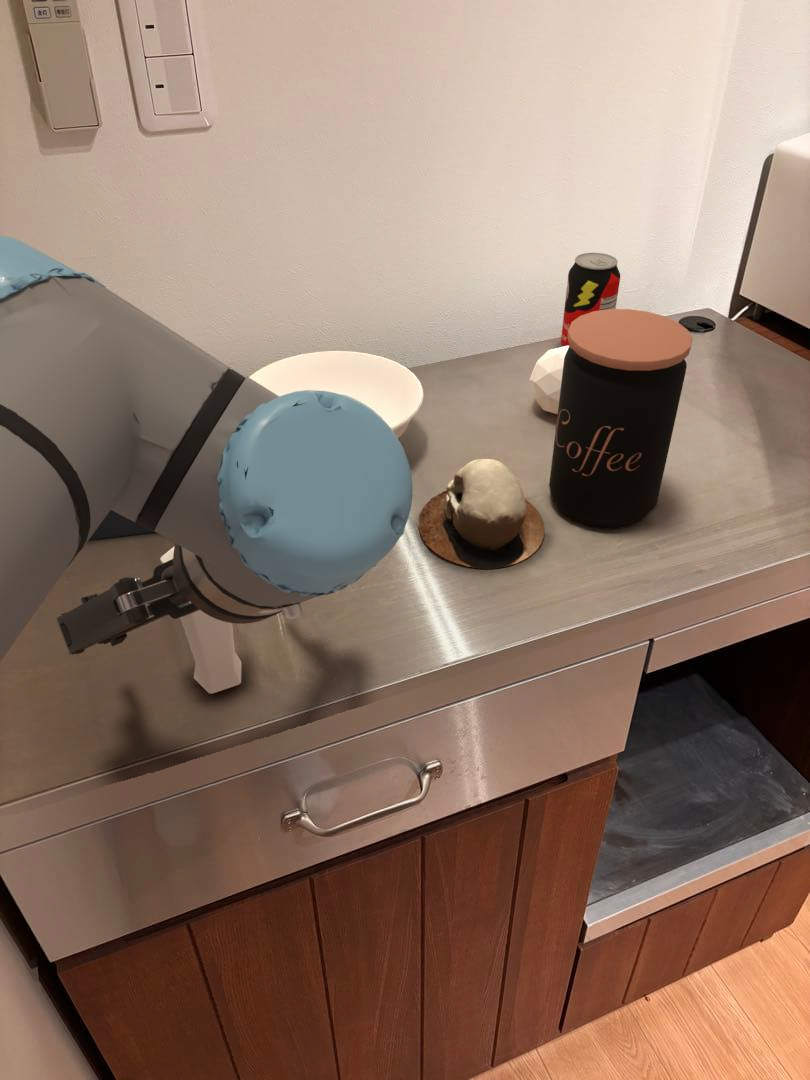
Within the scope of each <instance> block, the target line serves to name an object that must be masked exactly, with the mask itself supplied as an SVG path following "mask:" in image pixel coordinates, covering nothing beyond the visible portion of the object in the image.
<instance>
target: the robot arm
mask: <svg viewBox="0 0 810 1080" xmlns="http://www.w3.org/2000/svg"><path fill="white" fill-rule="evenodd" d="M249 377H250V376H246V377H245V376H244V375H242V374H240V373H239V372H238V371H236V370H234V369H232V368H231V367H230V366H229V365H227V364H225V363H224V362H222V361H221V360H219V359H218V358H216V357H214V356H213V355H211V354H210V353H208V352H206V351H205V350H203V349H202V348H201V347H199V346H198V345H196V344H195V343H193V342H191V341H189V340H188V339H186V338H185V337H183V336H182V335H180V334H179V333H177V332H176V331H174V330H172V329H171V328H170V327H168V326H167V325H165V324H163V323H162V322H160V321H159V320H157V319H156V318H153V316H151V315H150V314H148V313H146V312H145V311H143V310H141V309H140V308H138V307H137V306H135V305H133V304H132V303H131V302H129V301H127V300H126V299H125V298H122V297H121V296H119V295H118V294H116V293H114V292H113V291H112V290H110V289H109V288H107V287H106V286H105V285H104V284H103V283H101V282H100V280H98V279H97V278H93V276H91V275H90V274H88V273H86V272H84V271H79V272H78V271H76V270H75V269H73V268H71V267H69V266H67V265H65V264H64V263H62V262H60V261H58V260H56V259H55V258H53V257H51V256H49V255H47V254H45V253H44V252H42V251H40V250H38V249H37V248H35V247H33V246H31V245H29V244H27V243H25V242H24V241H22V240H20V239H18V238H15V237H11V236H5V235H0V663H1V662H2V661H3V659H4V658H5V656H6V655H7V654H8V652H9V651H10V649H11V648H12V647H13V646H14V643H16V641H17V639H18V638H19V636H20V635H21V634H22V632H23V631H24V629H25V628H26V626H27V625H28V624H29V622H30V621H31V619H32V618H33V616H34V615H35V613H36V612H37V611H38V609H39V608H40V607H41V606H42V603H43V602H45V600H46V598H47V597H48V595H49V594H50V592H51V591H52V589H54V587H55V585H56V584H57V583H58V581H59V580H60V578H61V576H62V575H63V574H64V572H65V571H66V570H67V569H68V568H69V566H70V565H71V564H72V562H73V561H74V560H75V558H76V557H77V555H78V554H79V553H80V552H81V550H82V549H83V548H84V547H85V546H86V544H87V543H88V541H90V540H89V539H90V537H91V536H92V535H93V533H94V532H95V530H96V529H97V528H98V526H99V525H100V524H101V522H102V521H103V520H104V518H105V517H106V516H107V514H108V513H109V512H110V510H112V511H114V512H116V513H118V514H120V515H122V516H124V517H126V518H128V519H130V520H131V521H133V522H135V523H137V524H139V525H141V526H143V527H145V528H147V529H148V530H150V531H152V533H156V534H158V535H160V536H162V537H163V538H165V539H167V540H169V541H170V542H173V543H174V546H173V547H174V554H173V559H171V560H169V561H167V562H165V563H163V564H162V563H161V564H159V565H156V567H154V569H153V573H152V574H153V575H152V577H151V578H148V579H146V580H144V581H142V579H141V578H140V577H135V576H132V577H131V576H129V577H128V576H125V577H122V578H120V579H118V581H117V582H115V583H114V584H112V586H111V587H110V588H108V589H107V590H105V591H104V592H101V593H100V594H98V593H95V594H91V595H85V596H81V598H80V601H81V603H82V604H80V605H78V606H77V607H74V608H73V609H71V610H69V611H67V612H64V613H62V614H61V615H60V616H58V617H57V618H56V622H57V624H58V626H59V629H60V632H61V635H62V638H63V640H64V643H65V645H66V648H67V651H68V653H69V655H72V656H73V655H79V654H82V653H85V650H86V649H88V648H91V647H93V646H95V645H96V644H97V645H103V644H104V645H106V644H110V645H111V647H114V646H116V645H119V644H122V643H123V642H124V641H125V640H126V638H127V637H128V633H130V632H132V631H134V630H137V629H139V628H141V627H143V626H147V625H148V624H150V623H153V622H155V621H157V620H160V619H162V618H164V617H166V616H169V617H170V618H171V619H174V620H175V619H180V617H183V616H186V615H189V614H192V613H194V612H196V611H199V610H201V611H202V612H204V613H205V614H207V615H209V616H211V617H213V618H215V619H218V620H221V621H224V622H229V623H232V624H238V625H240V624H241V625H242V624H243V625H245V624H253V623H257V622H261V621H265V620H266V619H269V618H272V617H273V616H276V615H278V614H280V613H281V614H282V616H283V617H284V619H285V620H287V621H293V620H294V621H295V620H297V619H299V618H300V617H301V616H302V615H303V609H302V606H301V603H303V602H306V601H309V600H312V599H315V598H318V597H321V596H327V595H330V594H334V593H335V592H337V591H343V590H344V589H345V588H347V587H348V586H350V585H353V584H354V583H356V582H357V581H358V580H360V579H361V578H362V577H363V576H364V575H365V574H366V573H367V572H369V571H370V570H373V568H375V567H376V566H377V564H378V563H380V562H381V561H382V560H384V558H385V557H387V555H388V554H389V553H390V552H392V550H393V548H394V547H395V546H396V545H397V543H398V541H399V540H400V538H401V537H402V536H403V534H404V532H405V529H406V526H407V523H408V520H409V517H410V512H411V510H412V504H413V477H412V471H411V468H410V464H409V460H408V457H407V454H406V451H405V448H404V447H403V445H402V443H401V441H400V440H399V438H397V436H396V435H395V433H394V432H393V430H392V429H391V428H390V426H389V425H388V424H387V423H386V422H385V421H384V420H383V419H382V418H381V417H380V416H379V415H378V414H377V413H376V412H375V411H374V410H372V409H371V408H370V407H368V406H367V405H365V404H364V403H362V402H360V401H358V400H356V399H354V398H352V397H349V396H347V395H341V394H338V393H333V392H327V391H314V390H303V391H296V392H292V393H289V394H285V395H282V396H280V397H279V396H278V395H276V394H275V393H273V392H271V391H270V390H268V389H267V388H265V387H263V386H262V385H260V384H259V383H257V382H255V381H254V380H252V379H251V378H249ZM154 529H155V530H154ZM154 531H155V532H154ZM189 601H190V602H191V603H189Z"/></svg>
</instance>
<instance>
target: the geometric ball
mask: <svg viewBox="0 0 810 1080" xmlns="http://www.w3.org/2000/svg"><path fill="white" fill-rule="evenodd" d="M568 348H569V346H564V347H562V346H560V347H556V348H551V349H548V350H547V351H546V352H545V353H544V354H543V355H542V356H541V357H539V359H538V360H537V361H536V363H535V365H534V368H533V370H532V372H531V374H530V376H529V379H528V380H529V383H530V387H531V390H532V393H533V397H534V400H535V401H536V402H537V404H538V405H539V406H540V407H541V409H542V410H543V411H545V412H548V413H551V414H553V415H554V414H555V415H558V407H559V398H560V390H561V381H562V373H563V365H564V358H565V355H566V352H567V350H568Z"/></svg>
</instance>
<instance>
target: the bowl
mask: <svg viewBox="0 0 810 1080" xmlns="http://www.w3.org/2000/svg"><path fill="white" fill-rule="evenodd" d="M248 377H249V378H251V379H252V380H254V381H255V382H257V383H259V384H260V385H262V386H263V387H265V388H267V389H268V390H270V391H271V392H273V393H275V394H276V395H278V396H279V397H280V396H282V395H285V394H289V393H292V392H296V391H303V390H314V391H327V392H333V393H338V394H341V395H347V396H349V397H352V398H354V399H356V400H358V401H360V402H362V403H364V404H365V405H367V406H368V407H370V408H371V409H372V410H374V411H375V412H376V413H377V414H378V415H379V416H380V417H381V418H382V419H383V420H384V421H385V422H386V423H387V424H388V425H389V426H390V428H391V429H392V430H393V432H394V433H395V435H396V436H397V438H398V439H399V438H400V437H401V436H402V435H403V434H404V433H405V431H406V430H407V428H408V426H409V424H410V421H411V419H412V418H413V417H415V416H416V414H418V412H419V410H420V408H421V407H422V405H423V402H424V395H425V394H424V389H423V384H422V383H421V382H420V380H419V378H418V377H417V376H416V374H415V373H414V372H413V371H411V370H409V369H408V368H407V367H406V366H404V365H402V364H400V363H398V362H397V361H394V360H392V359H389V358H386V357H383V356H380V355H375V354H372V353H367V352H358V351H348V350H347V351H346V350H330V351H329V350H327V351H315V352H308V353H301V354H298V355H293V356H290V357H286V358H283V359H280V360H277V361H274V362H272V363H269V364H267V365H265V366H264V367H262V368H260V369H258V370H257V371H255V372H254V373H252V374H251V375H250V376H248Z"/></svg>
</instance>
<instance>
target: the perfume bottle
mask: <svg viewBox="0 0 810 1080" xmlns="http://www.w3.org/2000/svg"><path fill="white" fill-rule="evenodd" d="M173 554H174V546H172V547H171V548H170V549H169V550H168V551H166V552H165V553H164V554H163V555H161V557H160V558H159V560H160V563H161V564H163V563H165V562H167V561H169V560H171V559H173ZM189 603H191V602H190V601H189ZM179 619H180V622H181V625H182V628H183V631H184V633H185V636H186V639H187V643H188V645H189V648H190V651H191V654H192V657H193V661H194V663H195V665H194V671H193V679H194V680H195V681H196V682H197V684H198V685H200V686H201V687H202V688H203V689H204V690H205V691H206V693H208V694H211V695H212V694H215V693H218V692H222V691H225V690H227V689H230V688H233V687H236V686H239V685H241V683H242V663H243V662H242V661H241V659H240V657H239V656H238V654H237V652H236V649H235V642H234V641H235V640H234V628H233V623H229V622H224V621H221V620H218V619H215V618H213V617H211V616H209V615H207V614H205V613H204V612H202V611H201V610H199V611H196V612H194V613H192V614H189V615H186V616H183V617H180V618H179Z"/></svg>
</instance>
